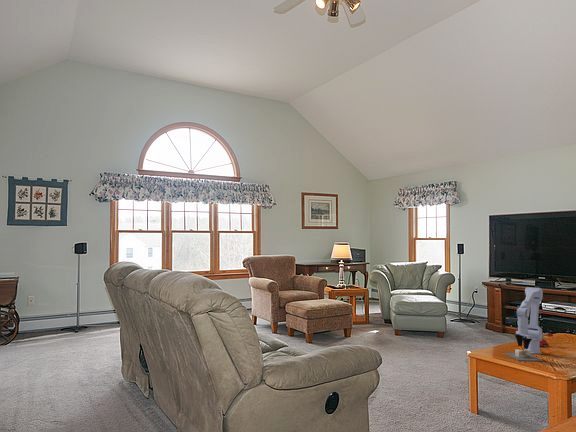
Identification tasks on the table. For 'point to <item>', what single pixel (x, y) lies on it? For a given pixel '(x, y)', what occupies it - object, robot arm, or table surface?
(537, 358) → the charcoal rubber mat
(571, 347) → the table surface
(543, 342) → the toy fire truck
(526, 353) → the birch card box
